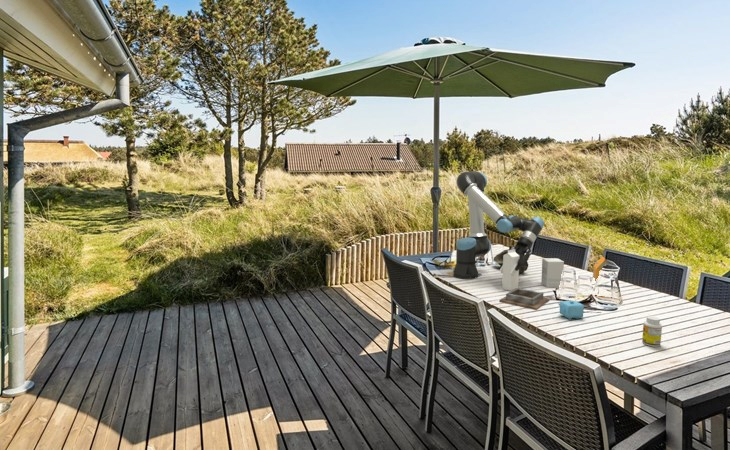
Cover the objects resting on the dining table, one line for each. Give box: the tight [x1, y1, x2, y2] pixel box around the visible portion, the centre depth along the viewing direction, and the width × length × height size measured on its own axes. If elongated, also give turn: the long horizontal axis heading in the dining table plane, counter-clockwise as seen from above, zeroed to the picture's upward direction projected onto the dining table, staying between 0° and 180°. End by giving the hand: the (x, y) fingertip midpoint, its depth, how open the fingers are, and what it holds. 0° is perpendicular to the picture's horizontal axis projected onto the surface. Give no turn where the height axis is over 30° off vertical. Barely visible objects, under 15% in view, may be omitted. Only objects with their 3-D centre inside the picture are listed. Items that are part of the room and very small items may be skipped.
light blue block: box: [556, 300, 585, 320], centre depth 175 cm, size 12×6×8 cm, turn 96°
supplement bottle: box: [641, 315, 663, 348], centre depth 147 cm, size 6×6×10 cm
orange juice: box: [592, 255, 610, 281], centre depth 206 cm, size 8×9×20 cm
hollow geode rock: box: [493, 249, 529, 275], centre depth 258 cm, size 28×13×15 cm
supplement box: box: [540, 257, 565, 288], centre depth 224 cm, size 9×9×15 cm
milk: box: [501, 249, 520, 292], centre depth 217 cm, size 6×6×22 cm
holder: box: [499, 287, 550, 311], centre depth 197 cm, size 18×18×4 cm
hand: (506, 273), depth 215 cm, fingers closed on milk, 6 cm apart
